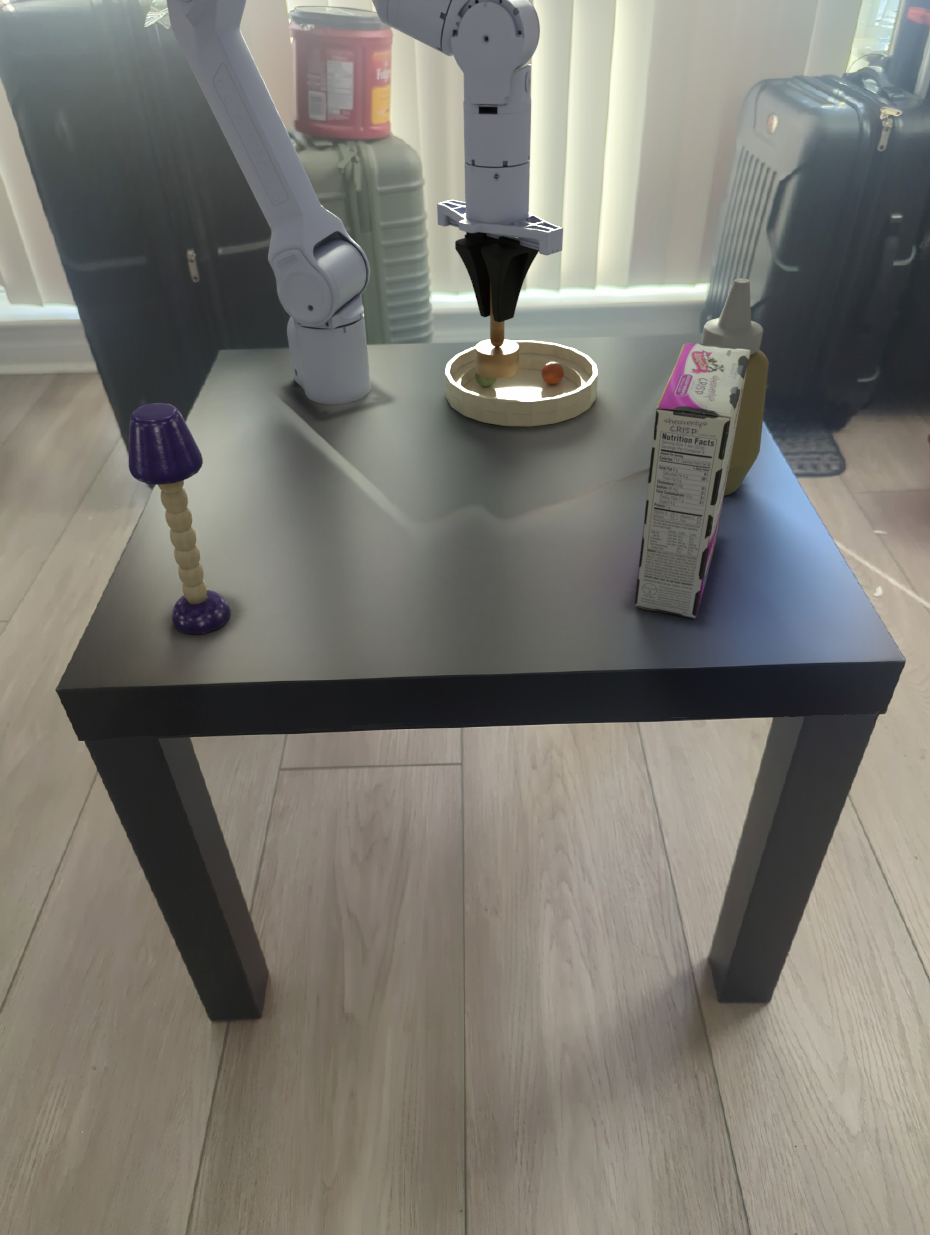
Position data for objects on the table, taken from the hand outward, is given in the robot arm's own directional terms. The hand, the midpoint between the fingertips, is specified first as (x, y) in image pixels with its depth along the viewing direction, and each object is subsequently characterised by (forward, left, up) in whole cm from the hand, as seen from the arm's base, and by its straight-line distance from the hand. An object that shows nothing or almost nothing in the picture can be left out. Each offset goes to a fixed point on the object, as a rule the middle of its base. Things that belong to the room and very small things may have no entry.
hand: (496, 316), depth 83 cm
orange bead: (-2, +8, -10) cm, 13 cm away
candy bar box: (+31, -4, -11) cm, 33 cm away
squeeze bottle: (+22, +8, -11) cm, 26 cm away
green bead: (-5, +2, -10) cm, 11 cm away
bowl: (-2, +4, -10) cm, 11 cm away
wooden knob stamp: (0, 0, -5) cm, 5 cm away
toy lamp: (+16, -37, -11) cm, 42 cm away
